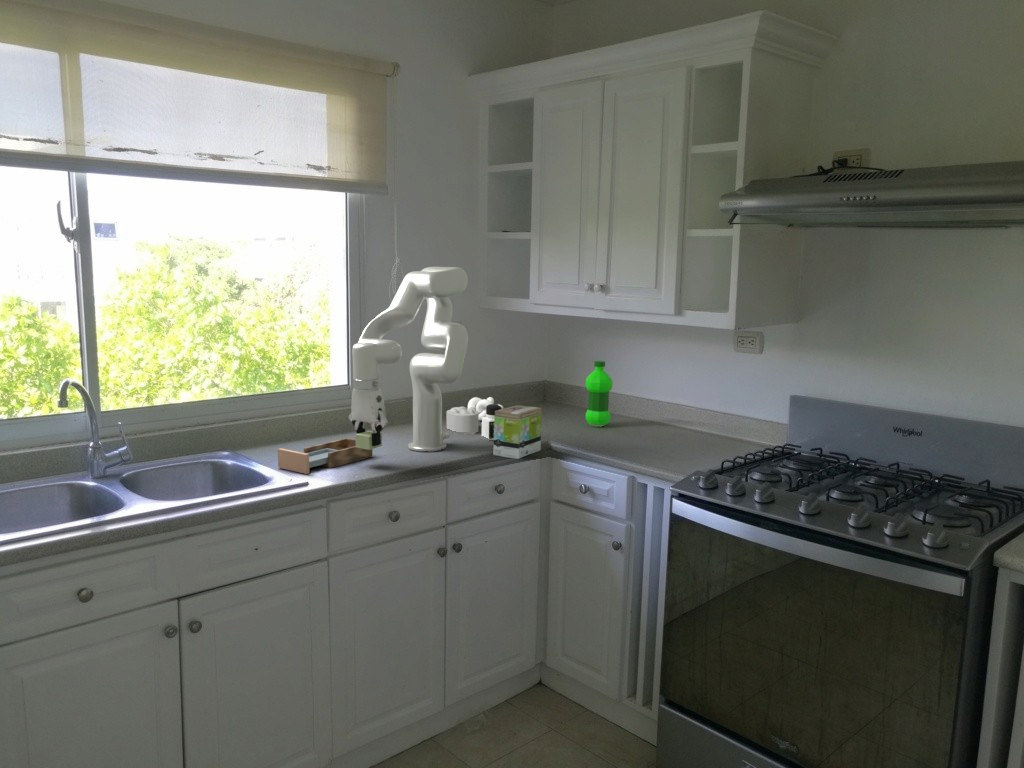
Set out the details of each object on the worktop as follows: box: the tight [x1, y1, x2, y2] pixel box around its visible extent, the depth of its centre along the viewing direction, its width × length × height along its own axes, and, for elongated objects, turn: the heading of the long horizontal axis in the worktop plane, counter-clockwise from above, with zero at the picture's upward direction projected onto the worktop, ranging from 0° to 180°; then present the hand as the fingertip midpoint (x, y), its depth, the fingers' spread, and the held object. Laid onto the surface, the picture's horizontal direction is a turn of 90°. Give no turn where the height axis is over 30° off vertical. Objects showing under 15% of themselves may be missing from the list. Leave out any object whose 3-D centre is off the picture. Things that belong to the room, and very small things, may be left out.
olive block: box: [354, 430, 383, 450], centre depth 237 cm, size 6×6×4 cm
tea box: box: [492, 404, 543, 460], centre depth 257 cm, size 15×10×15 cm, turn 151°
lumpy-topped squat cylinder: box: [445, 406, 479, 432], centre depth 291 cm, size 10×13×9 cm
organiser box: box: [303, 437, 373, 469], centre depth 245 cm, size 18×11×4 cm, turn 146°
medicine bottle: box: [481, 403, 504, 439], centre depth 279 cm, size 7×7×12 cm
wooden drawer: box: [277, 447, 338, 475], centre depth 237 cm, size 18×12×6 cm, turn 146°
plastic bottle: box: [585, 360, 613, 426], centre depth 302 cm, size 10×10×25 cm
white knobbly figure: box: [467, 396, 495, 420], centre depth 312 cm, size 11×12×9 cm
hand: (368, 443), depth 238 cm, fingers closed on olive block, 5 cm apart
